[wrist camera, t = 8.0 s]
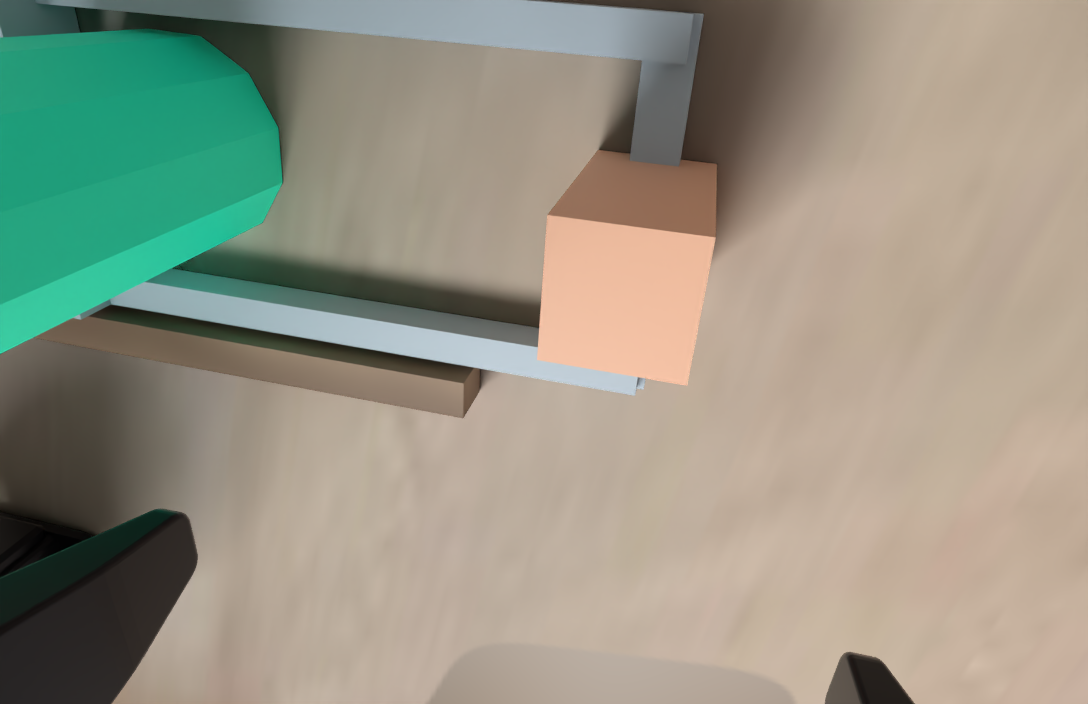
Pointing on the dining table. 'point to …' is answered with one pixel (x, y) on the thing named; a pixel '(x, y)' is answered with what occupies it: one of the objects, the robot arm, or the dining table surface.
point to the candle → (120, 166)
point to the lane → (275, 358)
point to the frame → (572, 225)
